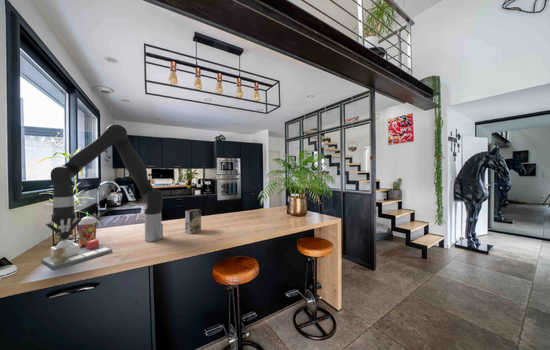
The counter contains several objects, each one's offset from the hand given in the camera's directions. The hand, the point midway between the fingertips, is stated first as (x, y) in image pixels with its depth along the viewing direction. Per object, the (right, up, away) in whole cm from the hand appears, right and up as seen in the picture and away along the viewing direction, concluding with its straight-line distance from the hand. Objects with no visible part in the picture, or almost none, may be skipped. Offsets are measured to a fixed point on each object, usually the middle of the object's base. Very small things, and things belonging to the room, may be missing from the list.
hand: (64, 239), depth 101 cm
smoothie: (-6, -10, +19) cm, 22 cm away
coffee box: (+48, -9, +43) cm, 65 cm away
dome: (0, -7, 0) cm, 7 cm away
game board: (+5, -10, +2) cm, 11 cm away
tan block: (+6, -8, -8) cm, 13 cm away
